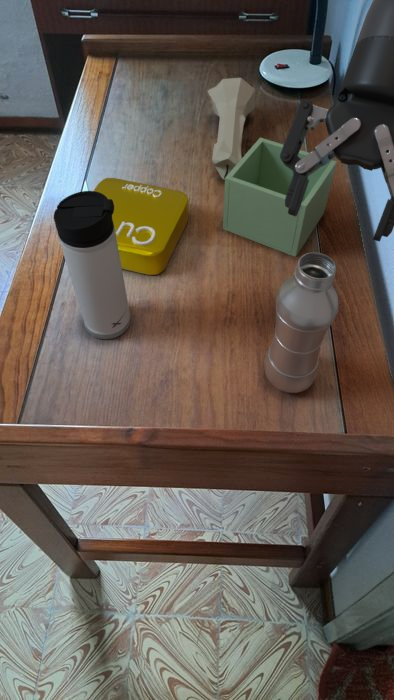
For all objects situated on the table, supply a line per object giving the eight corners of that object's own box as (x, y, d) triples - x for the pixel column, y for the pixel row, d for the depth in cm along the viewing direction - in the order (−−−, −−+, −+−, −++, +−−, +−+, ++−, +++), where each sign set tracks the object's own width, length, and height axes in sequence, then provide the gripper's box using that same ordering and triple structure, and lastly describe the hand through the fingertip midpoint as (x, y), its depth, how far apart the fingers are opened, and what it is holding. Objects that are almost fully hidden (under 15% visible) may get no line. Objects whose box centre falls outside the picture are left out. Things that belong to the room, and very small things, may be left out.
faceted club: (260, 106, 99) (256, 193, 86) (218, 115, 102) (208, 200, 88) (251, 61, 92) (246, 148, 79) (206, 72, 95) (193, 158, 81)
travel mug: (131, 339, 68) (110, 224, 52) (82, 340, 68) (46, 225, 52) (134, 304, 72) (115, 185, 55) (87, 304, 72) (54, 186, 55)
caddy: (324, 213, 83) (337, 161, 75) (295, 257, 77) (306, 206, 69) (254, 188, 86) (260, 137, 78) (222, 229, 81) (224, 177, 73)
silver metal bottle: (290, 409, 62) (322, 303, 46) (251, 374, 65) (268, 262, 49) (324, 379, 64) (367, 268, 48) (285, 347, 67) (312, 232, 51)
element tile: (192, 214, 83) (191, 189, 79) (160, 279, 74) (158, 255, 70) (107, 196, 85) (102, 171, 81) (68, 257, 77) (60, 233, 73)
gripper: (318, 17, 44) (258, 201, 48) (488, 50, 41) (410, 246, 44) (323, 54, 52) (271, 212, 55) (469, 85, 48) (403, 251, 51)
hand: (333, 227), depth 50 cm, fingers open, 8 cm apart
